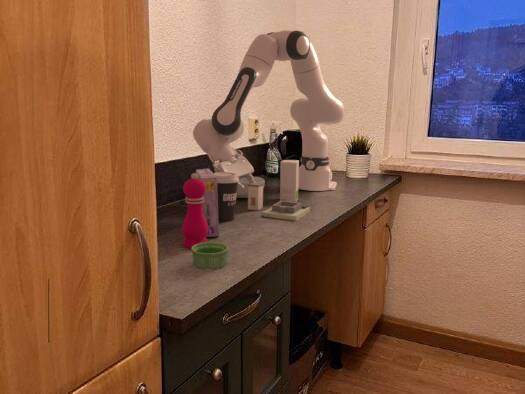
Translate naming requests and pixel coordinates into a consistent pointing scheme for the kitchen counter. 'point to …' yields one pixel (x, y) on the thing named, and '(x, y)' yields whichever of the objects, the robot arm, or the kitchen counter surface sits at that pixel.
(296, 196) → the skincare box
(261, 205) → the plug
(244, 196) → the cereal bowl
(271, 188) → the kitchen counter surface
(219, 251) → the ramekin
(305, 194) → the kitchen counter surface
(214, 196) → the cake pan box
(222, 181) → the coffee cup
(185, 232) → the pepper mill
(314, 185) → the robot arm
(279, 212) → the board
